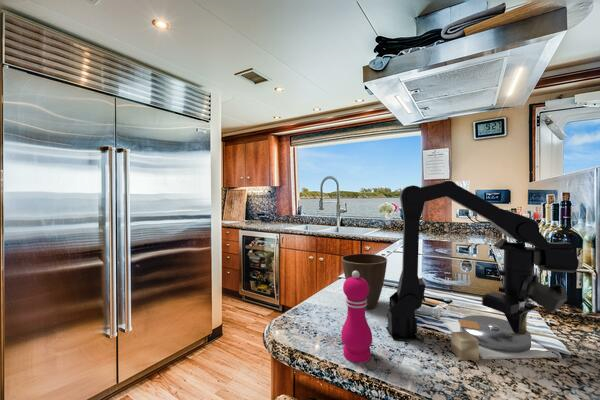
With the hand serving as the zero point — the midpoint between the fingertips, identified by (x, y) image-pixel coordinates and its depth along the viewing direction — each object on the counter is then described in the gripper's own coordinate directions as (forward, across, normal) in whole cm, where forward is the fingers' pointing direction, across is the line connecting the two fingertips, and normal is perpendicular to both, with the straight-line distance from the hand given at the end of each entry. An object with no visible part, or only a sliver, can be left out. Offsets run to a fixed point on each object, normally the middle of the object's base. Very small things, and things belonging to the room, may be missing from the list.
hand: (516, 332), depth 68 cm
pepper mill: (+5, -36, +16) cm, 39 cm away
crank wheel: (+4, 0, +5) cm, 6 cm away
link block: (+4, -14, +4) cm, 15 cm away
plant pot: (+5, -15, +38) cm, 41 cm away
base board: (+4, 0, +5) cm, 6 cm away
